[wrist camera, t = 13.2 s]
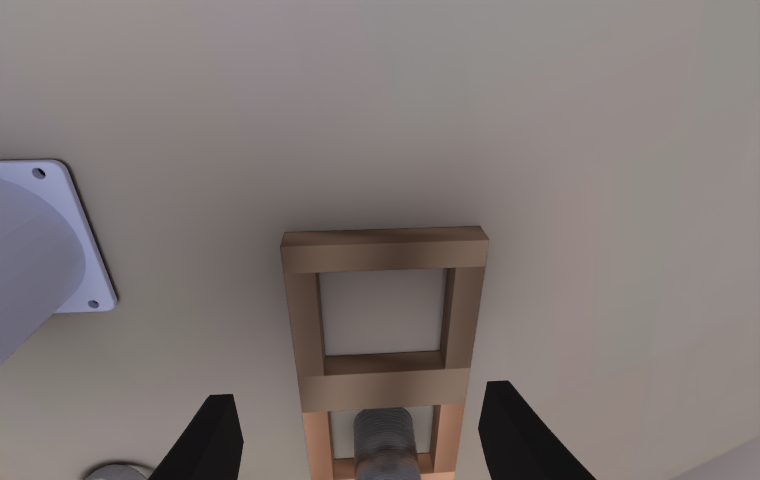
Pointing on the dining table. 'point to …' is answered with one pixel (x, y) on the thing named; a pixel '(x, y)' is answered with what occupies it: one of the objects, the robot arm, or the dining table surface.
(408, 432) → the metal peg
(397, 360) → the rail
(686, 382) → the dining table surface
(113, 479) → the ceramic mug
